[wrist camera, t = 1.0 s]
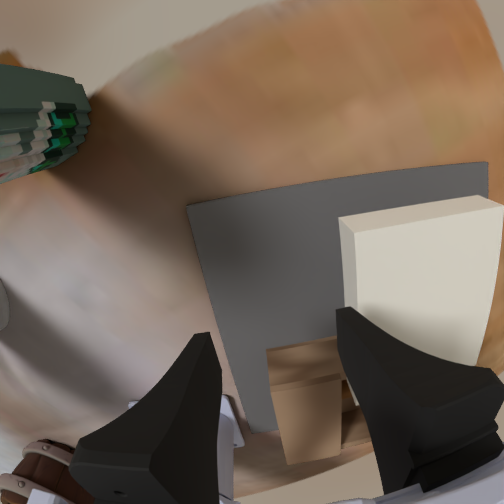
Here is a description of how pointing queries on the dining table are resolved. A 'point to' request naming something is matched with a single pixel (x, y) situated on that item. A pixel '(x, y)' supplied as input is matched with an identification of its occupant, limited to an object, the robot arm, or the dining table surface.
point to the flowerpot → (43, 475)
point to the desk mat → (296, 261)
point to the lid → (425, 272)
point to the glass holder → (4, 307)
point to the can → (38, 120)
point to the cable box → (313, 401)
